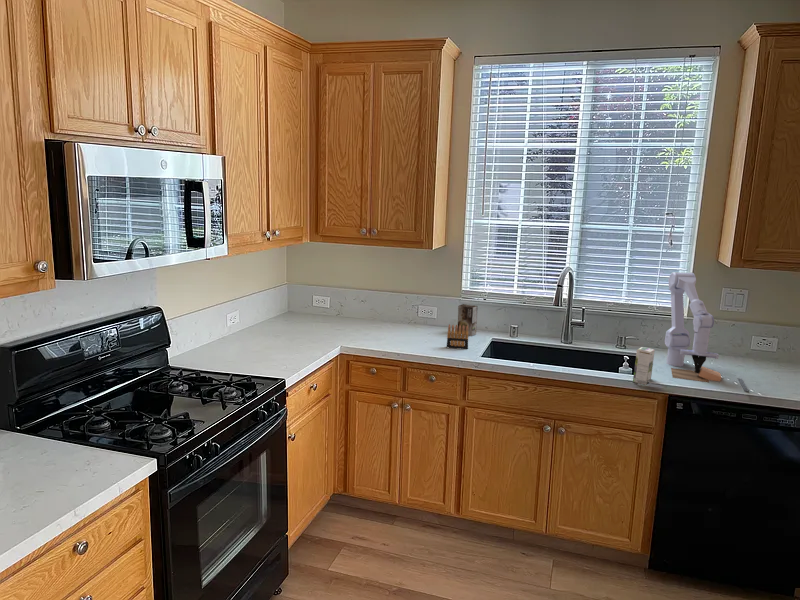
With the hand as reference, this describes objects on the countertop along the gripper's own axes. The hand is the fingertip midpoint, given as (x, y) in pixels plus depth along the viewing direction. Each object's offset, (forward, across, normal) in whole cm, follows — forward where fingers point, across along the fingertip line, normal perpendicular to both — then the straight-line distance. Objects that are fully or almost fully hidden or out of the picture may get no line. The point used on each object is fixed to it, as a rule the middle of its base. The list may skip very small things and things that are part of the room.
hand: (696, 372), depth 252 cm
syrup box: (+3, -22, -16) cm, 27 cm away
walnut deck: (+3, -3, 0) cm, 4 cm away
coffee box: (+3, -112, +30) cm, 116 cm away
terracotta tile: (+2, +4, 0) cm, 5 cm away
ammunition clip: (+3, -108, -1) cm, 108 cm away
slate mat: (+3, +12, 0) cm, 12 cm away
